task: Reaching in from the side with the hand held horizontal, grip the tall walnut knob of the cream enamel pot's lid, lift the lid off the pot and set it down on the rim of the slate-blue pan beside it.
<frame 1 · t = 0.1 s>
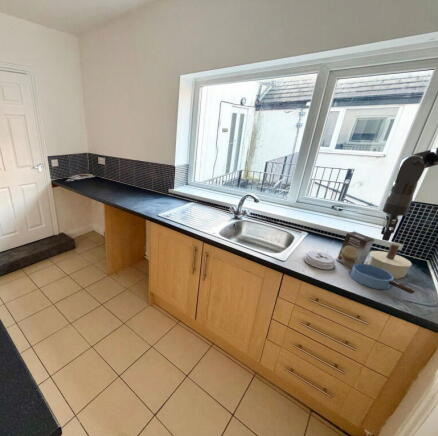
hand: (384, 237, 109), 18 cm above the counter, tool pointing down, fingers open, 8 cm apart
pan: (369, 280, 110), on the counter
pot: (384, 271, 117), on the counter
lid: (318, 264, 123), on the counter
pot lid: (389, 259, 115), point 6 cm above the counter, touching pot
coffee box: (348, 264, 122), on the counter
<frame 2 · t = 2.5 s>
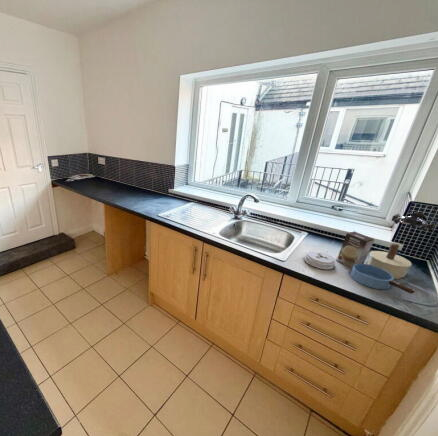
hand: (408, 224, 115), 22 cm above the counter, tool horizontal, fingers open, 8 cm apart
nothing on the counter moved.
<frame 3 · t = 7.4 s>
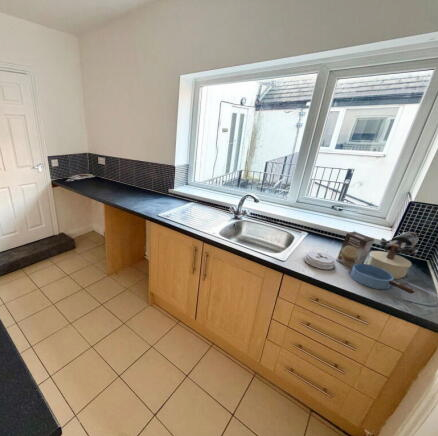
hand: (391, 250, 111), 12 cm above the counter, tool horizontal, fingers closed on pot lid, 3 cm apart
pot lid: (389, 259, 115), point 6 cm above the counter, touching gripper, pot
everything else where it was.
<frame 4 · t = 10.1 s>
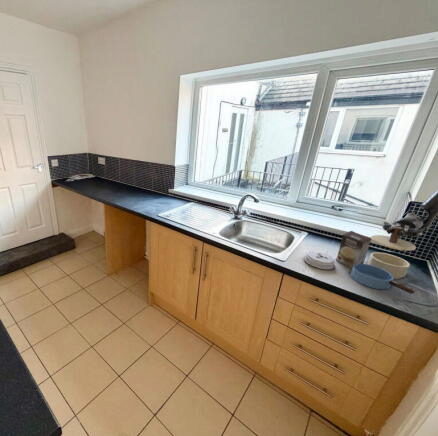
hand: (394, 233, 106), 22 cm above the counter, tool horizontal, fingers closed on pot lid, 3 cm apart
pot lid: (392, 243, 109), point 16 cm above the counter, touching gripper
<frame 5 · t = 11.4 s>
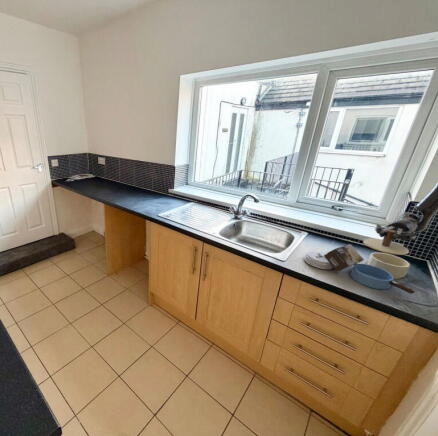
hand: (387, 236, 102), 22 cm above the counter, tool horizontal, fingers closed on pot lid, 3 cm apart
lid: (318, 263, 123), on the counter, touching coffee box
pot lid: (384, 246, 106), point 16 cm above the counter, touching gripper
coffee box: (351, 254, 119), point 6 cm above the counter, touching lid, pan
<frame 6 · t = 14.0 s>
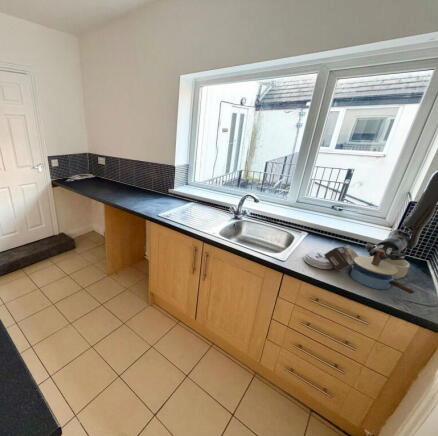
hand: (376, 256, 104), 13 cm above the counter, tool horizontal, fingers closed on pot lid, 3 cm apart
pot lid: (374, 265, 107), point 8 cm above the counter, touching coffee box, gripper
coffee box: (350, 256, 120), point 5 cm above the counter, touching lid, pan, pot lid
everything else where it was.
when the fingers open (12 cm above the counter, at t = 14.7 s): pot lid stays where it is, resting on coffee box, pan.
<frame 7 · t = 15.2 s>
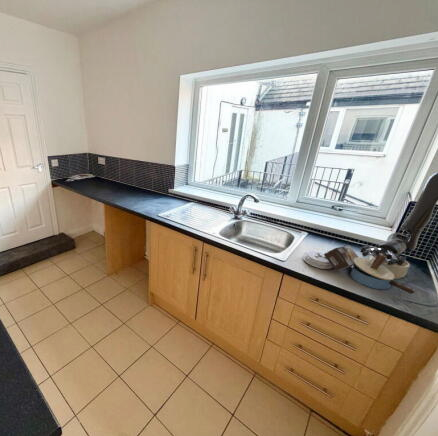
hand: (376, 258, 105), 12 cm above the counter, tool horizontal, fingers open, 8 cm apart
pot lid: (372, 268, 108), point 6 cm above the counter, tilted 11°, touching coffee box, pan
coffee box: (349, 256, 120), point 5 cm above the counter, touching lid, pan, pot lid
everything else where it was.
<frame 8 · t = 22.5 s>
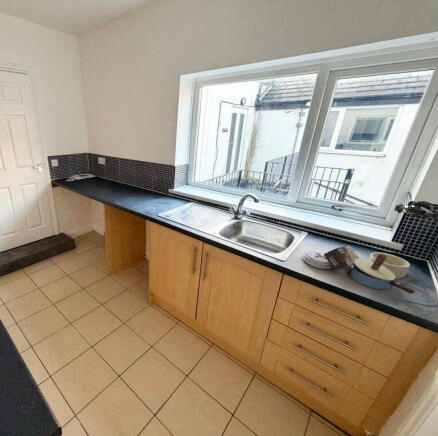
hand: (411, 213, 112), 28 cm above the counter, tool horizontal, fingers open, 8 cm apart
nothing on the counter moved.
at the end: pot lid 0.1 cm off-centre on the pan, point 5.6 cm above the pan's base; pot lid tilted 9°; the gripper is holding nothing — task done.
